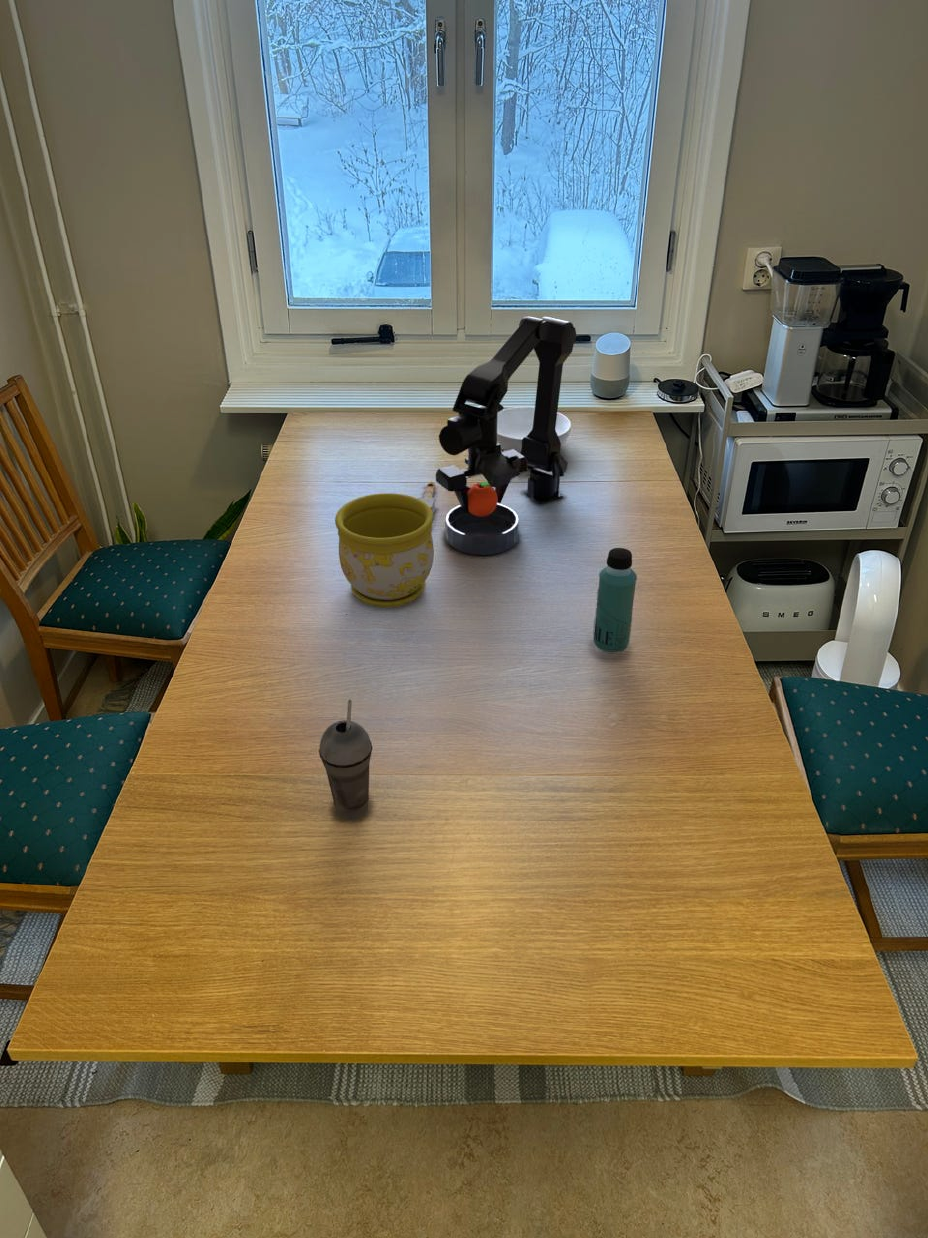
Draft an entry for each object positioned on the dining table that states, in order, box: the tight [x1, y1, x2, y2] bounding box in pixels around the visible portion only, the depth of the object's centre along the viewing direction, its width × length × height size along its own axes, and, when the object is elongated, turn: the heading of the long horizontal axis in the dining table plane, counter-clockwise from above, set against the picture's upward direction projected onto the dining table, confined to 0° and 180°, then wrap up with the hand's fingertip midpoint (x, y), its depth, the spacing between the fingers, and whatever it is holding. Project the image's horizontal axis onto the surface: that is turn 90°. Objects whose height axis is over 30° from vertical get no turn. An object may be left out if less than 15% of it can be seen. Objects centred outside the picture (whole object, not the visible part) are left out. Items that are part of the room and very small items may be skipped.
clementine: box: [468, 481, 498, 517], centre depth 189 cm, size 8×7×7 cm
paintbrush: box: [417, 481, 436, 514], centre depth 204 cm, size 4×3×20 cm
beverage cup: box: [318, 699, 373, 821], centre depth 126 cm, size 7×7×20 cm
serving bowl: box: [497, 406, 572, 453], centre depth 229 cm, size 21×21×7 cm
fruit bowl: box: [444, 502, 520, 556], centre depth 193 cm, size 15×15×4 cm
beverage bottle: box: [592, 547, 638, 654], centre depth 156 cm, size 6×7×20 cm
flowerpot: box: [334, 492, 435, 609], centre depth 173 cm, size 18×18×16 cm
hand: (482, 507), depth 190 cm, fingers closed on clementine, 8 cm apart
